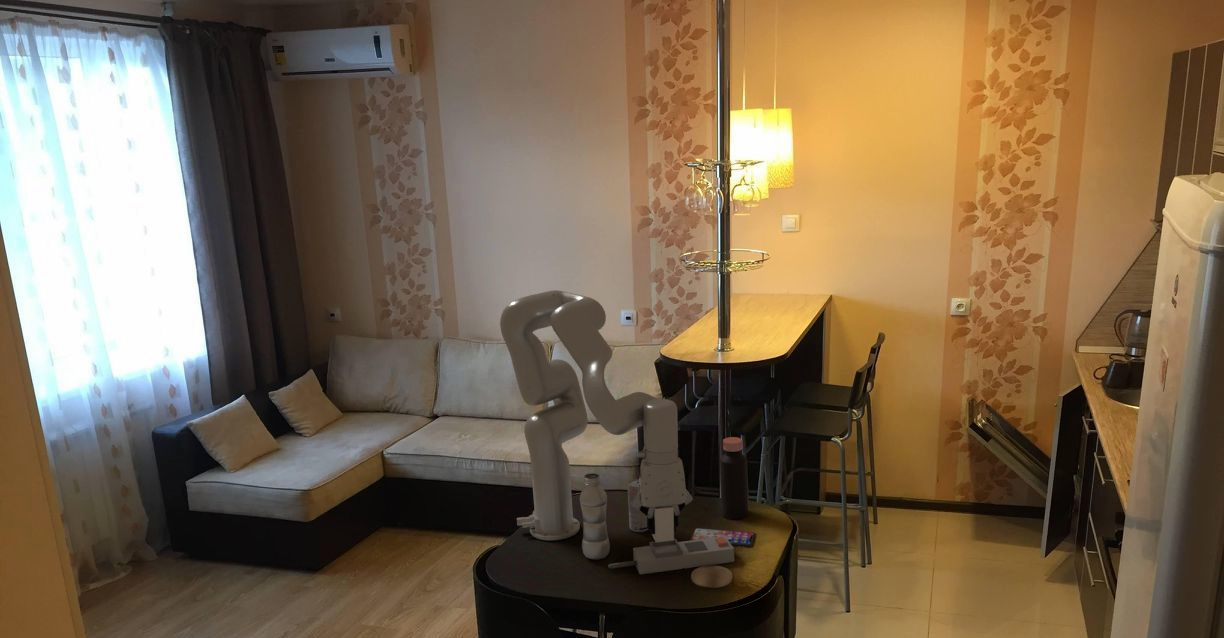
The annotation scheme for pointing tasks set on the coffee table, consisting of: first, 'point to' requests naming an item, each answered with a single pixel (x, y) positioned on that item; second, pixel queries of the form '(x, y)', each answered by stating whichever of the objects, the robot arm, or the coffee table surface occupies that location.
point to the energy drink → (635, 516)
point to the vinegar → (733, 480)
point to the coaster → (711, 576)
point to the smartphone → (733, 536)
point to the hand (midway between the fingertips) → (662, 530)
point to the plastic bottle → (594, 518)
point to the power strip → (680, 555)
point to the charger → (664, 523)
